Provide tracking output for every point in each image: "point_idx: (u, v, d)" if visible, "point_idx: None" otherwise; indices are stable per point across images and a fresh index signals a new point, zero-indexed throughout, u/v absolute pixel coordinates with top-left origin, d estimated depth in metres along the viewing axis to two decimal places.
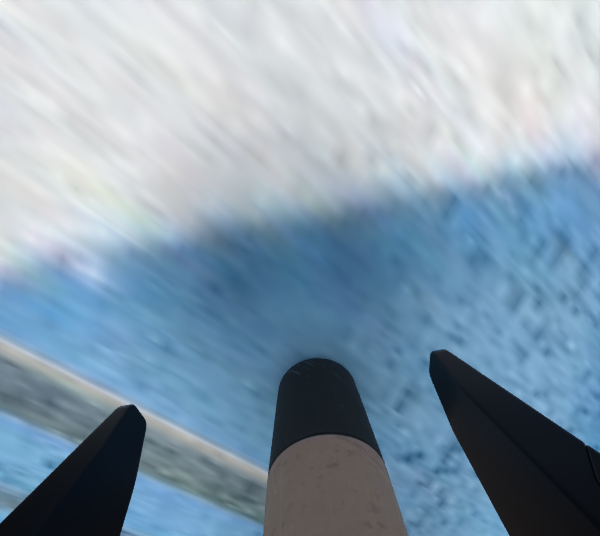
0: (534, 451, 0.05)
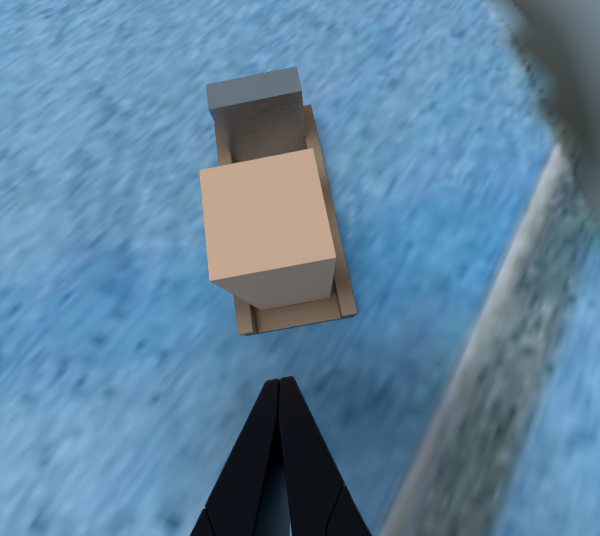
0: (295, 490, 0.05)
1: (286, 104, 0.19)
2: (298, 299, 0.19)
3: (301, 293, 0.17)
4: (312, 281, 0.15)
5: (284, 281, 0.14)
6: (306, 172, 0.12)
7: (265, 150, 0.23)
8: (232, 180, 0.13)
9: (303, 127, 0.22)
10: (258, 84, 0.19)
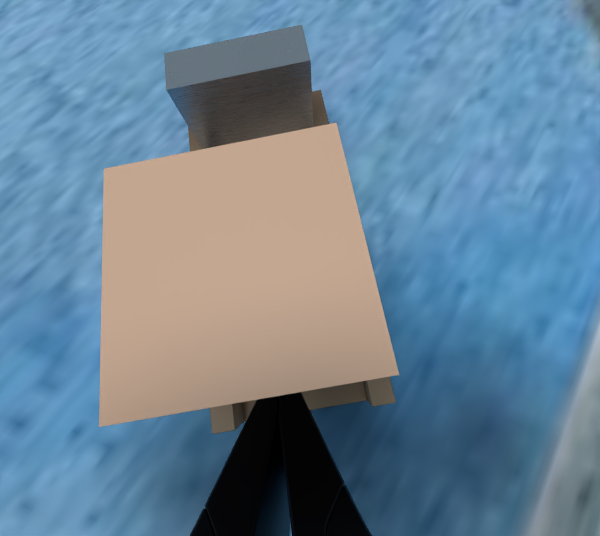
0: (295, 490, 0.05)
1: (286, 84, 0.13)
2: None
3: None
4: None
5: None
6: (324, 173, 0.06)
7: None
8: (168, 190, 0.06)
9: (311, 120, 0.15)
10: (244, 51, 0.12)
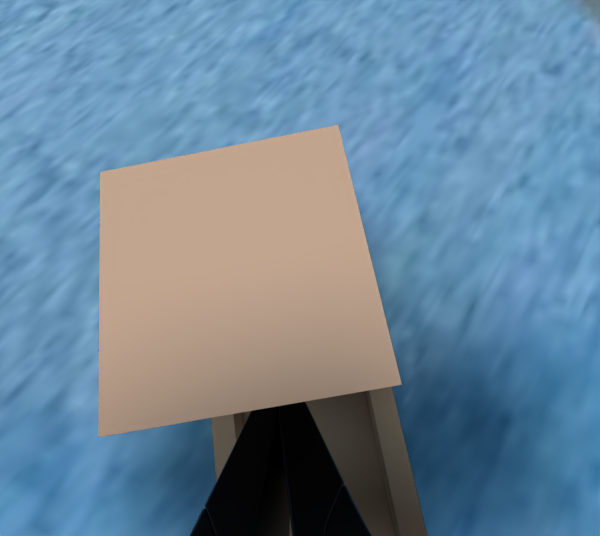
0: (295, 490, 0.05)
1: None
2: None
3: None
4: None
5: None
6: (326, 177, 0.06)
7: None
8: (166, 194, 0.06)
9: None
10: None
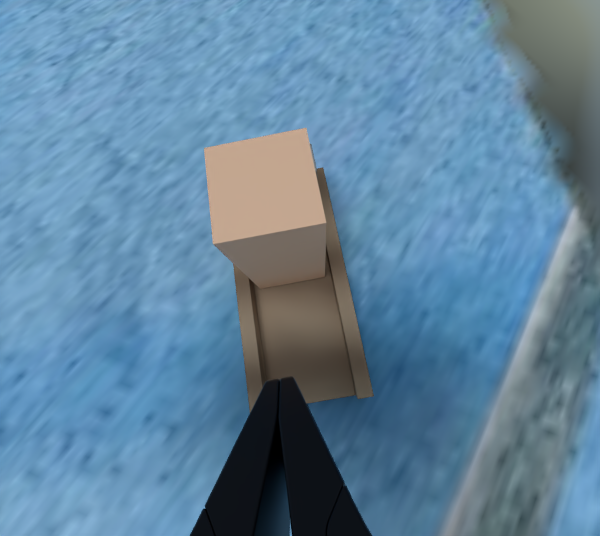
0: (295, 491, 0.05)
1: None
2: (295, 276, 0.21)
3: (297, 268, 0.19)
4: (306, 252, 0.16)
5: (280, 250, 0.15)
6: (300, 149, 0.14)
7: None
8: (233, 156, 0.14)
9: None
10: None
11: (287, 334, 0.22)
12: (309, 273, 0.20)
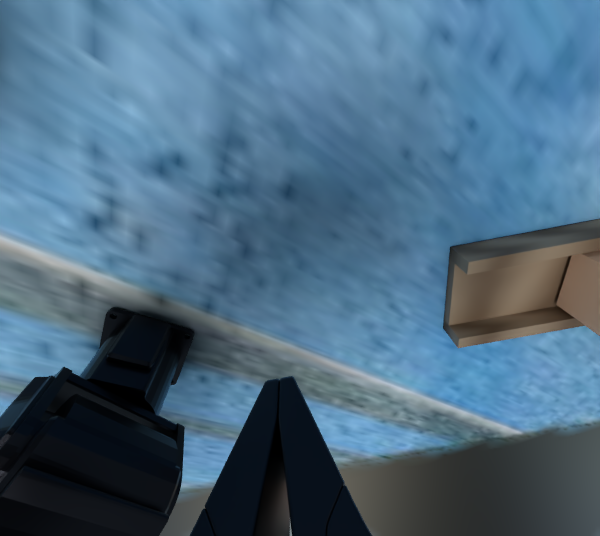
0: (295, 491, 0.05)
1: None
2: (584, 295, 0.21)
3: None
4: None
5: None
6: None
7: None
8: None
9: None
10: None
11: (516, 274, 0.22)
12: (581, 308, 0.22)
